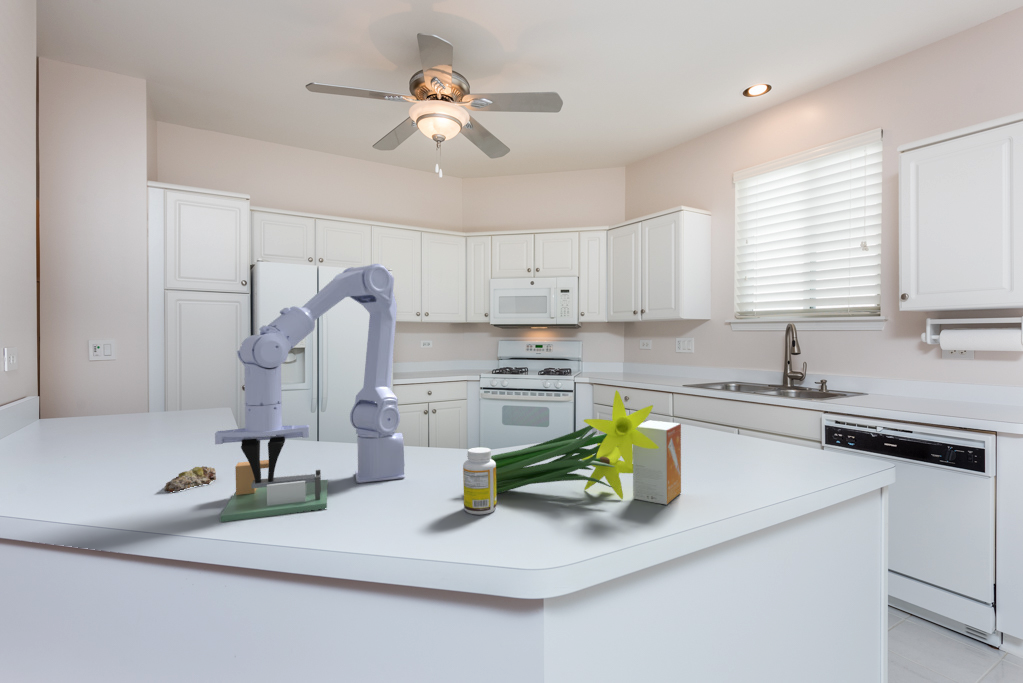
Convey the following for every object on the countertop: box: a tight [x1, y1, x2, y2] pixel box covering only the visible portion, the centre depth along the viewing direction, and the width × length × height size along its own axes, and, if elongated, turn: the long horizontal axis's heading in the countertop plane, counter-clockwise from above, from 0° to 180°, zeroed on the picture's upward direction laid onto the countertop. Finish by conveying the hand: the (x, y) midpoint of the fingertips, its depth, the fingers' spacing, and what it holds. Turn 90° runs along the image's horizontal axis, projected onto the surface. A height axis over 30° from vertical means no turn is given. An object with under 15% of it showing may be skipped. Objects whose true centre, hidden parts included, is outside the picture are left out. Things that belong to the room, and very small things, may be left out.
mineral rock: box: [164, 466, 217, 493], centre depth 100 cm, size 11×4×8 cm
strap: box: [251, 473, 320, 488], centre depth 88 cm, size 11×3×1 cm, turn 110°
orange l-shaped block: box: [235, 459, 269, 495], centre depth 92 cm, size 6×3×5 cm, turn 110°
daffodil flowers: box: [491, 389, 659, 500], centre depth 91 cm, size 17×15×35 cm
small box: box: [632, 419, 682, 505], centre depth 90 cm, size 8×6×13 cm
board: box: [219, 469, 329, 523], centre depth 90 cm, size 16×15×5 cm
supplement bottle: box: [462, 446, 498, 516], centre depth 84 cm, size 6×6×10 cm
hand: (264, 481), depth 86 cm, fingers closed on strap
